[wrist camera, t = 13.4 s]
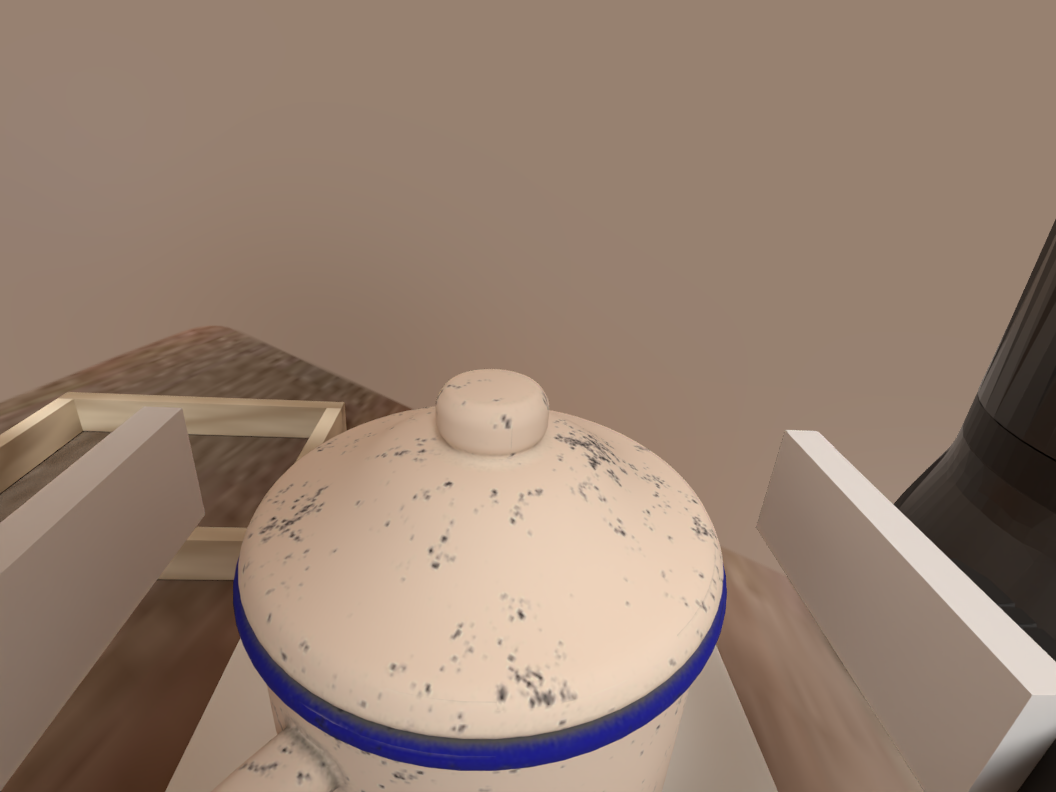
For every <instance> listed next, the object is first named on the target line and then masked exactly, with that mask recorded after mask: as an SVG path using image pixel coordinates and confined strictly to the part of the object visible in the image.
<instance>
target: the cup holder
mask: <svg viewBox="0 0 1056 792" xmlns="http://www.w3.org/2000/svg"><path fill="white" fill-rule="evenodd" d="M144 406H147V407H174V408H182V409H183V414H184V418H185V423H186V428H187V432H188V434H200V435H232V436H264V437H295V438H309V439H308V441H307V443H306V445H305V446H304V448H303V450H302V452H301V453H300V455H299V457H298V458H297V460H296V462H297V461H298V460H300V459H301V458H302V457H303V456H305V455H306V454H307V453H309V452H310V451H312V450H313V449H315V448H316V447H318V446H319V445H321V444H323V443H324V442H326V441H328V440H330V439H331V438H333V437H335V436H337V435H339V434H341V433H343V432H345V431H347V428H346V415H345V402H323V401H296V400H268V399H241V398H214V397H186V396H159V395H132V394H104V393H77V392H67V393H66V394H64V395H62V396H61V397H59V398H58V399H56V400H55V401H53V402H51V403H50V404H48V405H47V406H45V407H44V408H42V409H41V410H39V411H37V412H36V413H34V414H33V415H31V416H30V417H28V418H26V419H25V420H23V421H22V422H20V423H19V424H17V425H15V426H14V427H12V428H11V429H9V430H8V431H6V432H4V433H3V434H1V435H0V493H1V492H3V491H4V490H5V489H7V488H8V487H9V486H11V485H12V484H13V483H15V482H16V481H17V480H19V479H20V478H21V477H23V476H24V475H25V474H27V473H28V472H29V471H31V470H32V469H33V468H34V467H36V466H37V465H38V464H40V463H41V462H42V461H44V460H45V459H46V458H48V457H49V456H50V455H52V454H53V453H54V452H56V451H57V450H58V449H60V448H61V447H62V446H64V445H65V444H66V443H68V442H69V441H70V440H72V439H73V438H74V437H76V436H77V435H78V434H79V433H81V432H82V431H106V432H113V431H114V430H115V429H117V428H118V427H119V426H120V425H122V424H123V423H124V422H125V421H127V420H128V419H129V418H130V417H131V416H133V415H134V414H135V413H136V412H138V411H139V410H140V409H141V408H143V407H144ZM296 462H295V463H296ZM246 530H247V528H231V527H196V528H195V529H194V530H193V532H192V533H191V534H190V536H189V537H188V538H187V540H186V541H185V543H184V544H183V545H182V547H181V548H180V549H179V551H178V552H177V553H176V555H175V556H174V557H173V559H172V560H171V561H170V563H169V564H168V566H167V567H166V568H165V570H164V571H163V572H162V574H161V575H160V576H159V578H158V579H182V580H234V576H235V570H236V564H237V561H238V558H239V555H240V550H241V545H242V542H243V539H244V536H245V533H246Z"/></svg>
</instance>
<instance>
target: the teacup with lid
mask: <svg viewBox="0 0 1056 792" xmlns="http://www.w3.org/2000/svg"><path fill="white" fill-rule="evenodd" d="M726 597H727V588H726V575H725V570H724V565H723V558H722V553H721V548H720V543H719V540H718V537H717V534H716V532H715V529H714V527H713V524H712V522H711V520H710V518H709V516H708V514H707V512H706V510H705V508H704V506H703V504H702V502H701V501H700V500H699V498H698V496H697V495H696V494H695V492H694V491H693V490H692V488H691V487H690V486H689V485H688V484H687V482H686V481H685V480H684V479H683V478H682V477H681V476H680V475H679V474H678V473H677V472H676V471H675V470H674V469H673V468H672V467H671V466H670V465H669V464H667V463H666V462H665V461H664V460H663V459H661V458H660V457H659V456H657V455H656V454H654V453H653V452H652V451H650V450H649V449H647V448H646V447H644V446H642V445H641V444H639V443H637V442H636V441H634V440H632V439H630V438H629V437H627V436H624V435H623V434H621V433H619V432H616V431H614V430H612V429H610V428H608V427H605V426H603V425H600V424H597V423H595V422H592V421H589V420H586V419H583V418H580V417H577V416H573V415H569V414H565V413H561V412H557V411H552V410H549V401H548V398H547V395H546V394H545V392H544V390H543V389H542V388H541V386H540V385H539V384H538V383H537V382H536V381H535V380H533V379H532V378H530V377H528V376H526V375H523V374H520V373H517V372H513V371H509V370H501V369H480V370H472V371H468V372H464V373H461V374H459V375H456V376H455V377H453V378H451V379H450V380H449V381H448V382H447V383H446V384H445V385H444V386H443V387H442V389H441V390H440V392H439V394H438V396H437V399H436V406H432V407H425V408H419V409H414V410H409V411H404V412H400V413H396V414H392V415H389V416H385V417H382V418H378V419H375V420H373V421H370V422H367V423H364V424H361V425H359V426H357V427H354V428H352V429H350V430H347V431H345V432H343V433H341V434H339V435H337V436H335V437H333V438H331V439H330V440H328V441H326V442H324V443H323V444H321V445H319V446H318V447H316V448H315V449H313V450H312V451H310V452H309V453H307V454H306V455H305V456H303V457H302V458H301V459H300V460H298V461H297V462H296V463H295V464H294V465H292V466H291V467H290V468H289V469H288V470H287V471H286V472H285V473H284V474H283V475H282V476H281V477H280V478H279V479H278V480H277V481H276V482H275V484H274V485H273V486H272V487H271V489H270V490H269V491H268V492H267V494H266V495H265V497H264V498H263V500H262V502H261V503H260V505H259V506H258V508H257V510H256V511H255V513H254V515H253V517H252V519H251V521H250V523H249V526H248V528H247V530H246V533H245V536H244V539H243V542H242V545H241V550H240V555H239V558H238V561H237V564H236V570H235V576H234V582H233V606H234V612H235V619H236V625H237V628H238V631H239V634H240V637H241V641H242V644H243V646H244V648H245V650H246V652H247V654H248V656H249V658H250V660H251V662H252V664H253V666H254V668H255V669H256V670H257V672H258V673H259V675H260V676H261V677H262V679H263V680H264V682H265V683H266V684H267V689H268V694H269V698H270V703H271V708H272V713H273V718H274V723H275V728H276V733H277V735H276V736H275V737H274V738H273V739H271V740H270V741H269V742H268V743H267V744H265V745H264V746H263V747H262V748H261V749H259V750H258V751H257V752H256V753H255V754H253V755H252V756H251V757H250V758H249V759H247V760H246V761H245V762H244V763H243V764H242V765H240V766H239V767H238V768H237V769H236V770H235V771H233V772H232V773H231V774H230V775H229V776H228V777H227V778H225V779H224V780H223V781H222V782H221V783H220V784H219V785H218V786H217V787H216V788H214V789H213V790H212V791H211V792H662V789H663V785H664V782H665V778H666V774H667V770H668V766H669V763H670V759H671V755H672V751H673V748H674V744H675V740H676V736H677V733H678V729H679V725H680V721H681V718H682V714H683V710H684V706H685V703H686V699H687V695H688V691H689V688H690V686H691V684H692V683H693V682H694V680H695V679H696V678H697V677H698V675H699V674H700V673H701V671H702V670H703V668H704V666H705V665H706V663H707V661H708V659H709V658H710V656H711V654H712V652H713V650H714V648H715V645H716V643H717V640H718V638H719V635H720V632H721V628H722V624H723V620H724V616H725V609H726Z"/></svg>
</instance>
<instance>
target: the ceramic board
mask: <svg viewBox="0 0 1056 792" xmlns="http://www.w3.org/2000/svg"><path fill="white" fill-rule="evenodd" d="M276 735H277V733H276V728H275V723H274V718H273V713H272V708H271V703H270V698H269V694H268V689H267V684H266V683H265V682H264V680H263V679H262V677H261V676H260V675H259V673H258V672H257V670H256V669H255V668H254V666H253V664H252V662H251V660H250V658H249V656H248V654H247V652H246V650H245V648H244V646H243V644H242V641H241V638H240V640H239V642H238V644H237V646H236V648H235V650H234V652H233V654H232V656H231V658H230V660H229V662H228V664H227V666H226V669H225V671H224V673H223V675H222V677H221V679H220V681H219V683H218V685H217V687H216V689H215V691H214V693H213V695H212V697H211V699H210V701H209V703H208V705H207V707H206V709H205V711H204V713H203V715H202V718H201V720H200V722H199V724H198V726H197V728H196V730H195V732H194V734H193V736H192V738H191V740H190V742H189V744H188V746H187V748H186V750H185V752H184V754H183V756H182V758H181V760H180V762H179V764H178V766H177V769H176V771H175V773H174V775H173V777H172V779H171V781H170V783H169V785H168V787H167V789H166V791H165V792H211V791H212V790H213V789H214V788H216V787H217V786H218V785H219V784H220V783H221V782H222V781H223V780H224V779H225V778H227V777H228V776H229V775H230V774H231V773H232V772H233V771H235V770H236V769H237V768H238V767H239V766H240V765H242V764H243V763H244V762H245V761H246V760H247V759H249V758H250V757H251V756H252V755H253V754H255V753H256V752H257V751H258V750H259V749H261V748H262V747H263V746H264V745H265V744H267V743H268V742H269V741H270V740H271V739H273V738H274V737H275V736H276ZM662 792H778V790H777V788H776V786H775V783H774V781H773V779H772V776H771V774H770V772H769V769H768V767H767V764H766V762H765V760H764V757H763V755H762V753H761V750H760V748H759V745H758V743H757V741H756V738H755V736H754V734H753V731H752V729H751V727H750V724H749V722H748V719H747V717H746V715H745V712H744V710H743V708H742V705H741V703H740V701H739V698H738V696H737V693H736V691H735V689H734V686H733V684H732V682H731V679H730V677H729V674H728V672H727V670H726V667H725V665H724V663H723V660H722V658H721V656H720V653H719V651H718V648H717V646H716V645H715V648H714V650H713V652H712V654H711V656H710V658H709V659H708V661H707V663H706V665H705V666H704V668H703V670H702V671H701V673H700V674H699V675H698V677H697V678H696V679H695V680H694V682H693V683H692V684H691V686H690V688H689V691H688V695H687V699H686V703H685V706H684V710H683V714H682V718H681V721H680V725H679V729H678V733H677V736H676V740H675V744H674V748H673V751H672V755H671V759H670V763H669V766H668V770H667V774H666V778H665V782H664V785H663V789H662Z"/></svg>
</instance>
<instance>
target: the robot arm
mask: <svg viewBox="0 0 1056 792" xmlns="http://www.w3.org/2000/svg"><path fill="white" fill-rule="evenodd" d="M204 515H205V511H204V506H203V502H202V497H201V492H200V488H199V483H198V478H197V474H196V469H195V465H194V460H193V455H192V451H191V446H190V442H189V437H188V432H187V428H186V423H185V418H184V414H183V409H182V408H174V407H147V406H144V407H143V408H141V409H140V410H139V411H138V412H136V413H135V414H134V415H133V416H131V417H130V418H129V419H128V420H127V421H125V422H124V423H123V424H122V425H120V426H119V427H118V428H117V429H115V430H114V431H113V432H112V433H111V434H109V435H108V436H107V437H106V438H104V439H103V440H102V441H101V442H99V443H98V444H97V445H96V446H95V447H93V448H92V449H91V450H90V451H88V452H87V453H86V454H85V455H83V456H82V457H81V458H80V459H79V460H77V461H76V462H75V463H74V464H72V465H71V466H70V467H69V468H67V469H66V470H65V471H64V472H62V473H61V474H60V475H59V476H58V477H56V478H55V479H54V480H53V481H51V482H50V483H49V484H48V485H46V486H45V487H44V488H43V489H42V490H40V491H39V492H38V493H37V494H35V495H34V496H33V497H32V498H30V499H29V500H28V501H27V502H26V503H24V504H23V505H22V506H21V507H19V508H18V509H17V510H16V511H14V512H13V513H12V514H11V515H9V516H8V517H7V518H6V519H5V520H3V521H2V522H1V523H0V791H1V790H2V789H3V787H4V786H5V785H6V783H7V782H8V781H9V779H10V778H11V777H12V775H13V774H14V772H15V771H16V770H17V768H18V767H19V766H20V764H21V763H22V762H23V760H24V759H25V758H26V756H27V755H28V754H29V752H30V751H31V750H32V748H33V747H34V745H35V744H36V743H37V741H38V740H39V739H40V737H41V736H42V735H43V733H44V732H45V731H46V729H47V728H48V727H49V725H50V724H51V722H52V721H53V720H54V718H55V717H56V716H57V714H58V713H59V712H60V710H61V709H62V708H63V706H64V705H65V704H66V702H67V701H68V699H69V698H70V697H71V695H72V694H73V693H74V691H75V690H76V689H77V687H78V686H79V685H80V683H81V682H82V681H83V679H84V678H85V676H86V675H87V674H88V672H89V671H90V670H91V668H92V667H93V666H94V664H95V663H96V662H97V660H98V659H99V658H100V656H101V655H102V653H103V652H104V651H105V649H106V648H107V647H108V645H109V644H110V643H111V641H112V640H113V639H114V637H115V636H116V635H117V633H118V632H119V630H120V629H121V628H122V626H123V625H124V624H125V622H126V621H127V620H128V618H129V617H130V616H131V614H132V613H133V612H134V610H135V609H136V607H137V606H138V605H139V603H140V602H141V601H142V599H143V598H144V597H145V595H146V594H147V593H148V591H149V590H150V589H151V587H152V586H153V584H154V583H155V582H156V580H157V579H158V578H159V576H160V575H161V574H162V572H163V571H164V570H165V568H166V567H167V566H168V564H169V563H170V561H171V560H172V559H173V557H174V556H175V555H176V553H177V552H178V551H179V549H180V548H181V547H182V545H183V544H184V543H185V541H186V540H187V538H188V537H189V536H190V534H191V533H192V532H193V530H194V529H195V528H196V526H197V525H198V524H199V522H200V521H201V520H202V518H203V517H204ZM756 528H757V530H758V531H759V533H760V534H761V536H762V538H763V539H764V541H765V542H766V544H767V545H768V547H769V548H770V550H771V552H772V553H773V555H774V556H775V558H776V560H777V561H778V563H779V564H780V566H781V567H782V569H783V571H784V572H785V574H786V575H787V577H788V578H789V580H790V582H791V583H792V585H793V586H794V588H795V589H796V591H797V593H798V594H799V596H800V597H801V599H802V600H803V602H804V603H805V605H806V607H807V608H808V610H809V611H810V613H811V614H812V616H813V618H814V619H815V621H816V622H817V624H818V625H819V627H820V629H821V630H822V632H823V633H824V635H825V636H826V638H827V640H828V641H829V643H830V644H831V646H832V647H833V649H834V651H835V652H836V654H837V655H838V657H839V658H840V660H841V662H842V663H843V665H844V666H845V668H846V669H847V671H848V673H849V674H850V676H851V677H852V679H853V680H854V682H855V684H856V685H857V687H858V688H859V690H860V691H861V693H862V695H863V696H864V698H865V699H866V701H867V702H868V704H869V706H870V707H871V709H872V710H873V712H874V713H875V715H876V716H877V718H878V720H879V721H880V723H881V724H882V726H883V727H884V729H885V731H886V732H887V734H888V735H889V737H890V738H891V740H892V742H893V743H894V745H895V746H896V748H897V749H898V751H899V753H900V754H901V756H902V757H903V759H904V760H905V762H906V764H907V765H908V767H909V768H910V770H911V771H912V773H913V775H914V776H915V778H916V779H917V781H918V782H919V784H920V786H921V787H922V789H923V790H924V792H1056V220H1055V222H1054V224H1053V226H1052V229H1051V231H1050V233H1049V236H1048V238H1047V240H1046V242H1045V245H1044V247H1043V249H1042V251H1041V253H1040V256H1039V258H1038V260H1037V262H1036V265H1035V267H1034V269H1033V271H1032V273H1031V276H1030V278H1029V280H1028V283H1027V285H1026V287H1025V289H1024V291H1023V294H1022V296H1021V298H1020V300H1019V303H1018V305H1017V307H1016V310H1015V312H1014V314H1013V316H1012V318H1011V320H1010V322H1009V325H1008V327H1007V329H1006V331H1005V333H1004V335H1003V337H1002V340H1001V342H1000V344H999V346H998V348H997V350H996V352H995V355H994V357H993V359H992V361H991V363H990V365H989V367H988V370H987V372H986V374H985V376H984V378H983V380H982V382H981V385H980V387H979V390H978V393H977V395H976V397H975V399H974V402H973V404H972V406H971V408H970V410H969V412H968V415H967V417H966V419H965V421H964V423H963V425H962V427H961V430H960V431H959V434H958V436H957V438H956V439H955V441H954V442H953V444H952V445H951V446H950V447H949V448H948V449H947V450H946V451H945V452H944V453H943V454H942V455H941V456H940V457H939V458H938V459H937V460H936V461H935V462H934V463H933V464H932V465H931V466H930V467H929V468H928V469H927V470H926V471H925V472H924V473H923V474H922V475H921V476H920V477H919V478H918V479H917V480H916V481H915V482H914V483H913V484H912V485H911V486H910V487H909V488H908V489H907V490H906V491H905V492H904V493H903V494H902V495H901V496H900V498H899V499H898V500H897V501H896V502H895V503H894V504H892V503H891V502H890V501H889V500H888V499H887V498H886V497H885V496H884V495H883V494H882V493H881V492H880V491H879V490H878V489H877V488H876V487H875V486H873V485H872V483H871V482H870V481H868V479H866V478H865V477H864V476H863V475H862V474H861V473H860V472H859V471H858V470H857V469H856V468H855V467H854V466H853V465H852V464H851V463H850V462H849V461H848V460H847V459H846V458H845V457H844V456H843V455H842V454H841V453H840V452H838V450H837V449H836V448H834V447H833V446H832V445H831V444H830V443H829V442H828V441H827V440H826V439H825V438H824V437H823V436H822V435H821V434H820V433H819V432H818V431H800V430H799V431H798V430H785V432H784V436H783V439H782V442H781V446H780V449H779V452H778V456H777V459H776V462H775V466H774V469H773V472H772V476H771V479H770V482H769V486H768V489H767V492H766V496H765V499H764V502H763V506H762V509H761V512H760V516H759V519H758V522H757V526H756Z"/></svg>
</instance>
